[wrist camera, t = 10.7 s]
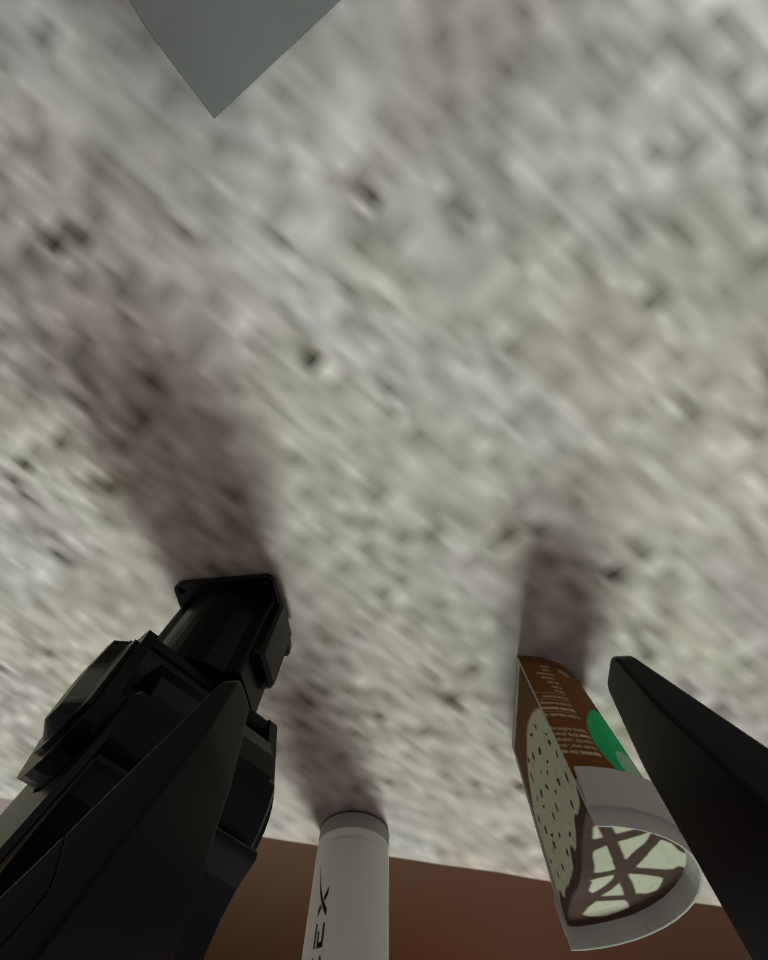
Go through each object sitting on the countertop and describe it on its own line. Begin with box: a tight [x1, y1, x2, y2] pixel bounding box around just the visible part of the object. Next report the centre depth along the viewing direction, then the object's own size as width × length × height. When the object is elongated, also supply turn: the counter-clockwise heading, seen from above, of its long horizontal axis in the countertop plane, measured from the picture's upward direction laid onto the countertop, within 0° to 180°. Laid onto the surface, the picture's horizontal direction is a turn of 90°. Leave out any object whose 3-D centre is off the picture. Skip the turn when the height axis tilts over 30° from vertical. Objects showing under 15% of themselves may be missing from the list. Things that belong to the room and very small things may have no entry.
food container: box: [512, 656, 703, 951], centre depth 22 cm, size 12×6×10 cm, turn 5°
